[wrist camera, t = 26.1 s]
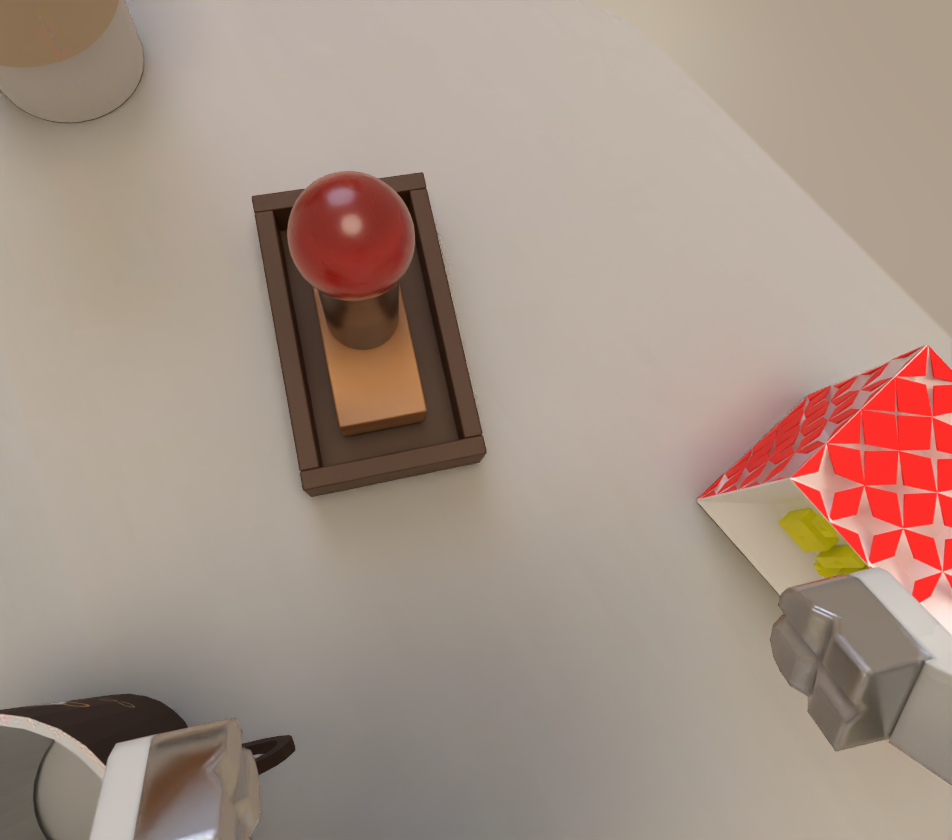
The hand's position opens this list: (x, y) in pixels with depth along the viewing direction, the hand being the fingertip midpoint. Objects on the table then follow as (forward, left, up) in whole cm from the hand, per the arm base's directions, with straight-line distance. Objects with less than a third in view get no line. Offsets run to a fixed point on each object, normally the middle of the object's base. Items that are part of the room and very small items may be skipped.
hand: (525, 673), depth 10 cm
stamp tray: (+9, +8, -20) cm, 24 cm away
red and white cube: (+11, -14, -20) cm, 27 cm away
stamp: (+9, +8, -20) cm, 23 cm away
